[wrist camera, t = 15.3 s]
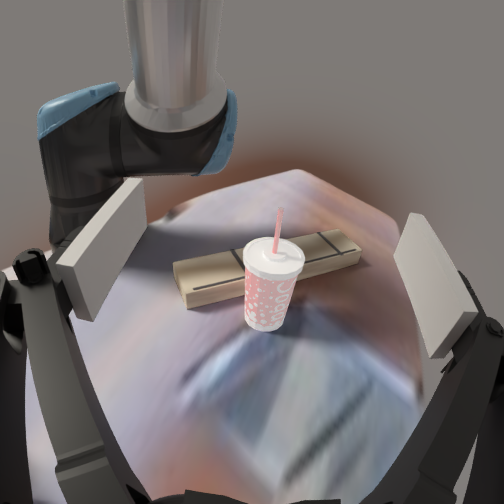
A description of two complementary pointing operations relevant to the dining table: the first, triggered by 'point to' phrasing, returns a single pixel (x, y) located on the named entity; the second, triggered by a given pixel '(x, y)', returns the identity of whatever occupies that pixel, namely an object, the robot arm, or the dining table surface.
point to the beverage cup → (270, 278)
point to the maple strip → (233, 269)
